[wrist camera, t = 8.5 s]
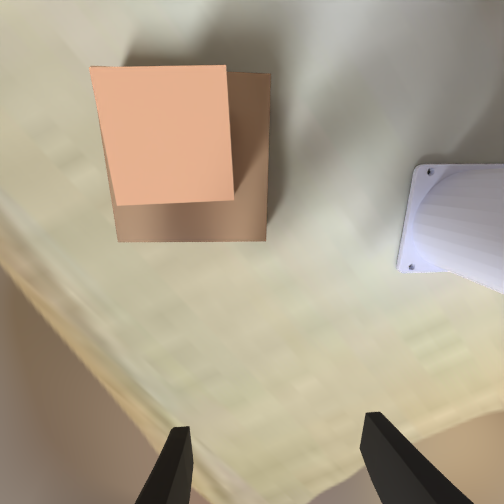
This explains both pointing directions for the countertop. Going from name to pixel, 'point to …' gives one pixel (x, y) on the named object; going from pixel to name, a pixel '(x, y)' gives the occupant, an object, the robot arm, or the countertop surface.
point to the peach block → (166, 132)
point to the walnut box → (245, 181)
